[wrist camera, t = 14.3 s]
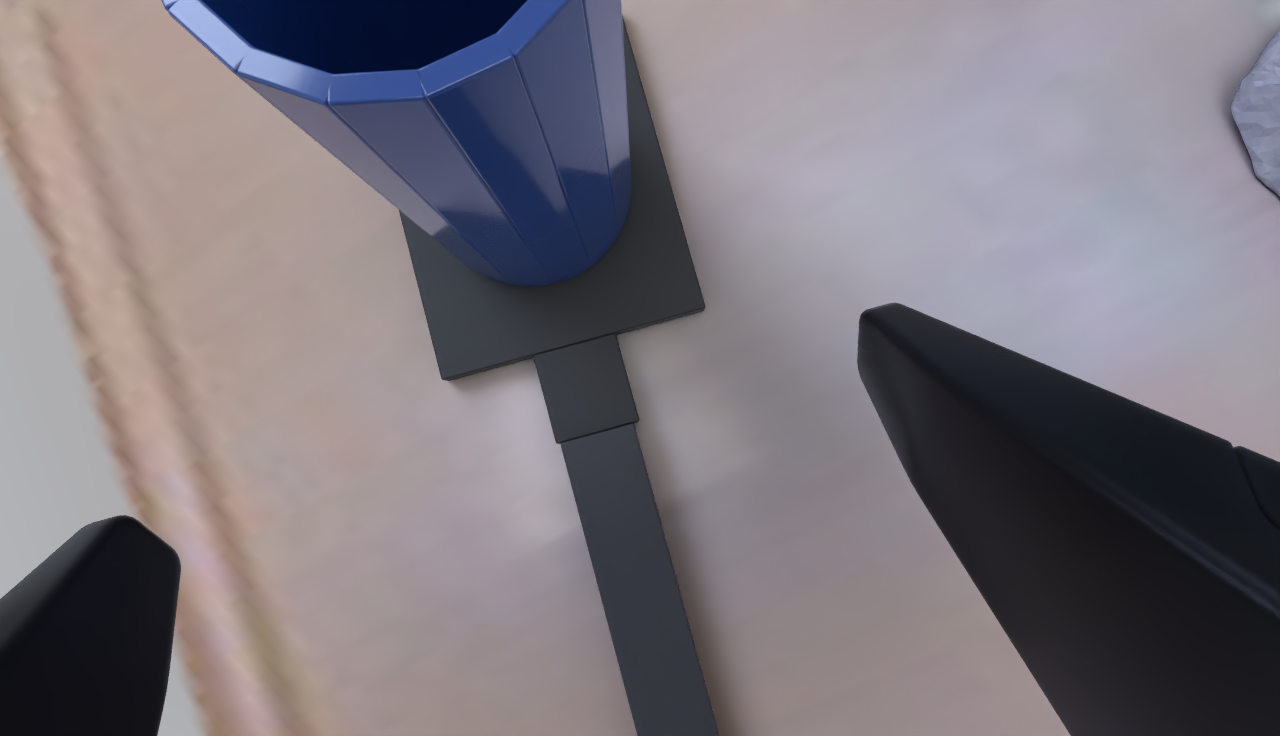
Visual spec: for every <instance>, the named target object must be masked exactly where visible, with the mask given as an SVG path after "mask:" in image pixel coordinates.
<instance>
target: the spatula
mask: <svg viewBox="0 0 1280 736" xmlns="http://www.w3.org/2000/svg"><path fill="white" fill-rule="evenodd" d="M622 21H623V39H624V56H625V74H626V91H627V108H628V126H629V143H630V161H631V179H632V198H631V201H630V208H629V211H628V215H627V218H626V221H625V223H624V226H623V228H622V230H621V232H620V234H619V236H618V237H617V239H616V241H615V242H614V244H613V245H612V246H611V247H610V249H609V250H608V251H607V252H606V254H605V255H604V256H603V257H601V258H600V259H599V260H598V261H597V262H596V263H595V264H594V265H592V266H591V267H590V268H588V269H587V270H585V271H584V272H582V273H580V274H578V275H576V276H575V277H572V278H570V279H567V280H565V281H562V282H559V283H555V284H551V285H545V286H536V287H523V286H515V285H509V284H505V283H501V282H498V281H495V280H493V279H490V278H488V277H485V276H483V275H482V274H480V273H478V272H475V271H474V270H472V269H470V268H469V267H468V266H467V265H465V264H464V263H463V262H462V261H461V260H459V259H458V258H457V257H456V256H455V255H453V254H452V253H451V252H450V251H448V250H447V249H446V248H445V247H444V246H442V245H441V244H440V243H439V242H438V241H436V240H435V239H434V238H433V237H432V236H430V235H429V234H428V233H427V232H425V231H424V230H423V229H422V228H421V227H419V226H418V225H417V224H416V223H415V222H413V221H412V220H411V219H410V218H409V217H407V216H406V215H405V214H404V213H403V212H401V211H400V210H399V212H400V216H401V220H402V224H403V228H404V232H405V236H406V240H407V244H408V248H409V252H410V256H411V260H412V264H413V268H414V272H415V275H416V279H417V283H418V287H419V291H420V295H421V299H422V303H423V307H424V311H425V315H426V319H427V323H428V327H429V331H430V335H431V339H432V343H433V347H434V351H435V355H436V359H437V363H438V367H439V370H440V374H441V378H442V380H447V381H449V380H453V379H456V378H460V377H464V376H467V375H471V374H475V373H478V372H482V371H486V370H489V369H493V368H497V367H500V366H504V365H508V364H511V363H515V362H518V361H522V360H526V359H529V358H533V357H534V361H535V365H536V368H537V372H538V376H539V380H540V384H541V387H542V391H543V395H544V399H545V403H546V406H547V410H548V414H549V418H550V421H551V425H552V429H553V433H554V437H555V440H556V443H561V448H562V451H563V455H564V459H565V463H566V467H567V470H568V474H569V478H570V482H571V485H572V489H573V493H574V497H575V501H576V504H577V508H578V512H579V516H580V519H581V523H582V527H583V531H584V535H585V538H586V542H587V546H588V550H589V554H590V557H591V561H592V565H593V569H594V572H595V576H596V580H597V584H598V588H599V591H600V595H601V599H602V603H603V606H604V610H605V614H606V618H607V622H608V625H609V629H610V633H611V637H612V641H613V644H614V648H615V652H616V656H617V659H618V663H619V667H620V671H621V675H622V678H623V682H624V686H625V690H626V693H627V697H628V701H629V705H630V709H631V712H632V716H633V720H634V724H635V728H636V731H637V735H638V736H719V733H718V729H717V725H716V722H715V718H714V714H713V711H712V707H711V703H710V700H709V696H708V692H707V689H706V685H705V681H704V678H703V674H702V670H701V667H700V663H699V660H698V656H697V652H696V649H695V645H694V641H693V638H692V634H691V630H690V627H689V623H688V619H687V616H686V612H685V608H684V605H683V601H682V597H681V594H680V590H679V586H678V583H677V579H676V575H675V572H674V568H673V564H672V561H671V557H670V553H669V550H668V546H667V542H666V539H665V535H664V531H663V528H662V524H661V521H660V517H659V513H658V510H657V506H656V502H655V499H654V495H653V491H652V488H651V484H650V480H649V477H648V473H647V469H646V466H645V462H644V458H643V455H642V451H641V447H640V444H639V440H638V436H637V433H636V429H635V425H634V423H635V422H638V421H639V417H638V414H637V410H636V406H635V403H634V399H633V395H632V392H631V388H630V384H629V381H628V377H627V374H626V370H625V366H624V363H623V359H622V355H621V352H620V348H619V344H618V341H617V337H616V335H617V334H621V333H624V332H628V331H632V330H635V329H639V328H642V327H646V326H650V325H653V324H657V323H661V322H664V321H668V320H672V319H675V318H679V317H683V316H686V315H690V314H693V313H697V312H701V311H703V310H704V309H705V304H704V300H703V297H702V293H701V290H700V286H699V283H698V279H697V276H696V272H695V269H694V265H693V262H692V258H691V255H690V251H689V248H688V244H687V241H686V237H685V234H684V230H683V227H682V223H681V220H680V216H679V213H678V209H677V206H676V202H675V199H674V195H673V192H672V188H671V185H670V181H669V178H668V174H667V170H666V167H665V163H664V160H663V156H662V153H661V149H660V146H659V142H658V139H657V135H656V132H655V128H654V125H653V121H652V118H651V114H650V111H649V107H648V104H647V100H646V97H645V93H644V90H643V86H642V83H641V79H640V76H639V72H638V69H637V65H636V62H635V58H634V55H633V51H632V48H631V44H630V41H629V37H628V34H627V30H626V27H625V23H624V20H623V16H622Z"/></svg>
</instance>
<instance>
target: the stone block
mask: <svg viewBox="0 0 1280 736" xmlns="http://www.w3.org/2000/svg"><path fill="white" fill-rule="evenodd" d="M1231 111H1232V115H1233V118H1234V120H1235V122H1236V124H1237V126H1238V128H1239V130H1240V133H1241V136H1242V138H1243V141H1244V143H1245V145H1246V148H1247V150H1248V152H1249V155H1250V157H1251V160H1252V164H1253V168H1254V172H1255V175H1256V176H1257V177H1258V178H1259V179H1260V180H1261V181H1262V182H1263V183H1264V184H1265V185H1266V186H1267V187H1269V188H1270V189H1271V190H1273V191H1274V192H1275V193H1276V194H1277V195H1278V196H1279V197H1280V31H1279V32H1278V33H1277V34H1276V35H1275V36H1274V37H1273V39H1272V40H1271V41H1270V42H1269V44H1268V45H1267V46H1266V48H1265V49H1264V50H1263V52H1262V53H1261V57H1260V58H1259V60H1258V61H1257V62H1256V64H1255V65H1254V67H1253V69H1252V70H1251V72H1250V73H1249V74H1248V75H1247V76H1246V77H1245V78H1244V79H1243V80H1242V82H1241V85H1240V87H1239V89H1238V91H1237V93H1236V95H1235V97H1234V100H1233V102H1232V107H1231Z"/></svg>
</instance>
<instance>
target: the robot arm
mask: <svg viewBox="0 0 1280 736" xmlns="http://www.w3.org/2000/svg"><path fill="white" fill-rule="evenodd" d="M857 363H858V370H859V374H860V377H861V379H862V382H863V384H864V386H865V388H866V390H867V392H868V394H869V396H870V398H871V401H872V403H873V405H874V407H875V409H876V411H877V413H878V415H879V417H880V419H881V421H882V424H883V426H884V428H885V430H886V432H887V434H888V436H889V438H890V440H891V442H892V444H893V447H894V449H895V451H896V453H897V455H898V457H899V459H900V461H901V463H902V465H903V467H904V469H905V471H906V473H907V475H908V477H909V479H910V481H911V483H912V485H913V486H914V488H915V490H916V491H917V493H918V495H919V496H920V498H921V500H922V501H923V503H924V504H925V506H926V508H927V509H928V511H929V512H930V514H931V516H932V517H933V519H934V520H935V522H936V523H937V525H938V527H939V528H940V530H941V531H942V533H943V534H944V536H945V538H946V539H947V541H948V542H949V544H950V546H951V547H952V549H953V550H954V552H955V553H956V555H957V557H958V558H959V560H960V561H961V563H962V564H963V566H964V568H965V569H966V571H967V572H968V574H969V576H970V577H971V579H972V580H973V582H974V583H975V585H976V587H977V588H978V590H979V591H980V593H981V594H982V596H983V598H984V599H985V601H986V602H987V604H988V606H989V607H990V609H991V610H992V612H993V613H994V615H995V617H996V618H997V620H998V621H999V623H1000V624H1001V626H1002V628H1003V629H1004V631H1005V632H1006V634H1007V636H1008V637H1009V639H1010V640H1011V642H1012V643H1013V645H1014V647H1015V648H1016V650H1017V651H1018V653H1019V654H1020V656H1021V658H1022V659H1023V661H1024V662H1025V664H1026V666H1027V667H1028V669H1029V670H1030V672H1031V673H1032V675H1033V677H1034V678H1035V680H1036V681H1037V683H1038V684H1039V686H1040V688H1041V689H1042V691H1043V692H1044V694H1045V695H1046V697H1047V699H1048V700H1049V702H1050V703H1051V705H1052V707H1053V708H1054V710H1055V711H1056V713H1057V714H1058V716H1059V718H1060V719H1061V721H1062V722H1063V724H1064V725H1065V727H1066V729H1067V730H1068V732H1069V733H1070V735H1071V736H1280V462H1278V461H1275V460H1273V459H1270V458H1268V457H1266V456H1263V455H1261V454H1259V453H1256V452H1254V451H1251V450H1249V449H1247V448H1244V447H1241V446H1237V447H1234V448H1233V446H1232V444H1231V443H1230V442H1229V441H1227V440H1224V439H1222V438H1220V437H1217V436H1215V435H1212V434H1210V433H1208V432H1205V431H1203V430H1201V429H1198V428H1196V427H1193V426H1191V425H1189V424H1186V423H1184V422H1181V421H1179V420H1177V419H1174V418H1172V417H1169V416H1167V415H1165V414H1162V413H1160V412H1158V411H1155V410H1153V409H1150V408H1148V407H1146V406H1143V405H1141V404H1138V403H1136V402H1134V401H1131V400H1129V399H1126V398H1124V397H1122V396H1119V395H1117V394H1115V393H1112V392H1110V391H1107V390H1105V389H1103V388H1100V387H1098V386H1095V385H1093V384H1091V383H1088V382H1086V381H1083V380H1081V379H1079V378H1076V377H1074V376H1071V375H1069V374H1067V373H1064V372H1062V371H1060V370H1057V369H1055V368H1052V367H1050V366H1048V365H1045V364H1043V363H1040V362H1038V361H1036V360H1033V359H1031V358H1028V357H1026V356H1024V355H1021V354H1019V353H1017V352H1014V351H1012V350H1009V349H1007V348H1005V347H1002V346H1000V345H997V344H995V343H993V342H990V341H988V340H985V339H983V338H981V337H978V336H976V335H974V334H971V333H969V332H966V331H964V330H962V329H959V328H957V327H954V326H952V325H950V324H947V323H945V322H942V321H940V320H938V319H935V318H933V317H931V316H928V315H926V314H923V313H921V312H919V311H916V310H914V309H911V308H909V307H907V306H904V305H902V304H898V303H889V304H886V305H882V306H878V307H875V308H871V309H867V310H865V311H864V312H863V313H862V314H861V316H860V320H859V336H858V358H857ZM180 573H181V564H180V559H179V557H178V555H177V553H176V551H175V550H174V549H173V548H172V547H171V546H169V545H168V544H167V543H166V542H164V541H163V540H162V539H161V538H159V537H158V536H157V535H156V534H154V533H153V532H152V531H151V530H149V529H148V528H147V527H146V526H144V525H143V524H142V523H141V522H139V521H138V520H136V519H135V518H133V517H130V516H126V515H124V516H116V517H112V518H108V519H104V520H101V521H97V522H93V523H91V524H88V525H86V526H85V527H83V528H81V529H80V530H79V531H78V532H77V533H75V534H74V535H73V536H72V537H71V538H70V539H69V540H67V541H66V542H65V543H64V544H63V545H62V546H61V547H59V548H58V549H57V550H56V551H55V552H54V553H53V554H52V555H50V556H49V557H48V558H47V559H46V560H45V561H44V562H42V563H41V564H40V565H39V566H38V567H37V568H35V569H34V570H33V571H32V572H31V573H30V574H29V575H27V576H26V577H25V578H24V579H23V580H22V581H21V582H20V583H18V584H17V585H16V586H15V587H14V588H13V589H11V590H10V591H9V592H8V593H7V594H6V595H5V596H3V597H2V598H1V599H0V736H157V734H158V729H159V725H160V721H161V716H162V712H163V706H164V701H165V696H166V691H167V684H168V677H169V670H170V662H171V653H172V644H173V635H174V626H175V617H176V609H177V600H178V591H179V582H180Z"/></svg>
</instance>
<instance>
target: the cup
mask: <svg viewBox="0 0 1280 736" xmlns="http://www.w3.org/2000/svg"><path fill="white" fill-rule="evenodd" d="M162 3H163V5H164V7H165V9H166V10H167V11H168V13H169V14H170V16H171V17H172V18H173V19H175V20H176V21H177V22H178V23H179V24H180V25H181V26H182V27H183V28H185V29H186V30H187V31H188V32H189V33H190V34H191V35H192V36H193V37H194V38H196V39H197V40H198V41H199V42H200V43H201V44H202V45H203V46H204V47H206V48H207V49H208V50H209V51H210V52H211V53H212V54H213V55H214V56H215V57H217V58H218V59H219V60H220V61H221V62H222V63H223V64H224V65H225V66H227V67H228V68H229V69H230V70H231V71H232V72H233V73H234V74H236V75H237V76H238V77H239V78H240V79H242V80H243V81H244V82H245V83H246V84H248V85H249V86H250V87H251V88H253V89H254V90H255V91H256V92H257V93H259V94H260V95H261V96H262V97H263V98H265V99H266V100H267V101H268V102H269V103H271V104H272V105H273V106H274V107H275V108H277V109H278V110H279V111H280V112H282V113H283V114H284V115H285V116H286V117H288V118H289V119H290V120H291V121H292V122H294V123H295V124H296V125H297V126H298V127H300V128H301V129H302V130H303V131H305V132H306V133H307V134H308V135H309V136H311V137H312V138H313V139H314V140H315V141H317V142H318V143H319V144H320V145H321V146H323V147H324V148H325V149H326V150H328V151H329V152H330V153H331V154H332V155H334V156H335V157H336V158H337V159H338V160H340V161H341V162H342V163H343V164H344V165H346V166H347V167H348V168H349V169H350V170H352V171H353V172H354V173H355V174H357V175H358V176H359V177H360V178H361V179H363V180H364V181H365V182H366V183H367V184H369V185H370V186H371V187H372V188H373V189H375V190H376V191H377V192H378V193H380V194H381V195H382V196H383V197H384V198H386V199H387V200H388V201H389V202H390V203H392V204H393V205H394V206H395V207H396V208H398V209H399V210H400V211H401V212H403V213H404V214H405V215H406V216H407V217H409V218H410V219H411V220H412V221H413V222H415V223H416V224H417V225H418V226H419V227H421V228H422V229H423V230H424V231H425V232H427V233H428V234H429V235H430V236H432V237H433V238H434V239H435V240H436V241H438V242H439V243H440V244H441V245H442V246H444V247H445V248H446V249H447V250H448V251H450V252H451V253H452V254H453V255H455V256H456V257H457V258H458V259H459V260H461V261H462V262H463V263H464V264H465V265H467V266H468V267H469V268H470V269H472V270H474V271H475V272H478V273H480V274H482V275H483V276H485V277H488V278H490V279H493V280H495V281H498V282H501V283H505V284H509V285H515V286H523V287H536V286H545V285H551V284H555V283H559V282H562V281H565V280H567V279H570V278H572V277H575V276H576V275H578V274H580V273H582V272H584V271H585V270H587V269H588V268H590V267H591V266H592V265H594V264H595V263H596V262H597V261H598V260H599V259H600V258H601V257H603V256H604V255H605V254H606V252H607V251H608V250H609V249H610V247H611V246H612V245H613V244H614V242H615V241H616V239H617V237H618V236H619V234H620V232H621V230H622V228H623V226H624V223H625V221H626V218H627V215H628V211H629V208H630V201H631V198H632V179H631V161H630V143H629V126H628V108H627V91H626V74H625V56H624V39H623V21H622V4H621V0H162Z"/></svg>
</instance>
